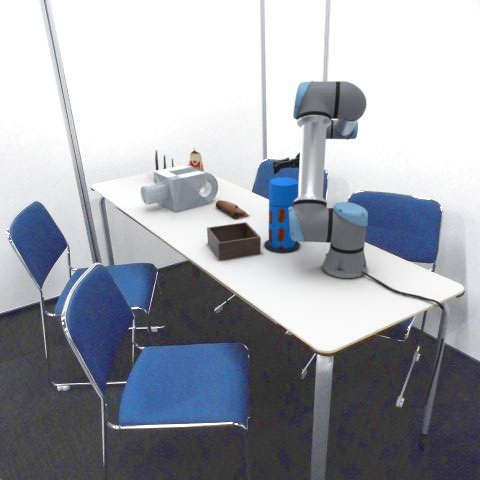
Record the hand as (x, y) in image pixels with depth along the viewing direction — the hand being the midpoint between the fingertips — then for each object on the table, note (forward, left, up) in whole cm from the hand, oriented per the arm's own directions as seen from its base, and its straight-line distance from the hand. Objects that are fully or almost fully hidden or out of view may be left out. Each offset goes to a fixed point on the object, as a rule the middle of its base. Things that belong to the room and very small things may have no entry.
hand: (291, 172), depth 180 cm
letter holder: (+106, +31, -27) cm, 113 cm away
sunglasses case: (+37, +13, -27) cm, 47 cm away
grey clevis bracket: (+58, +34, -27) cm, 72 cm away
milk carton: (+85, +18, -27) cm, 91 cm away
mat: (-7, +6, -27) cm, 28 cm away
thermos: (-7, +6, -26) cm, 28 cm away
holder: (-3, +25, -27) cm, 37 cm away
